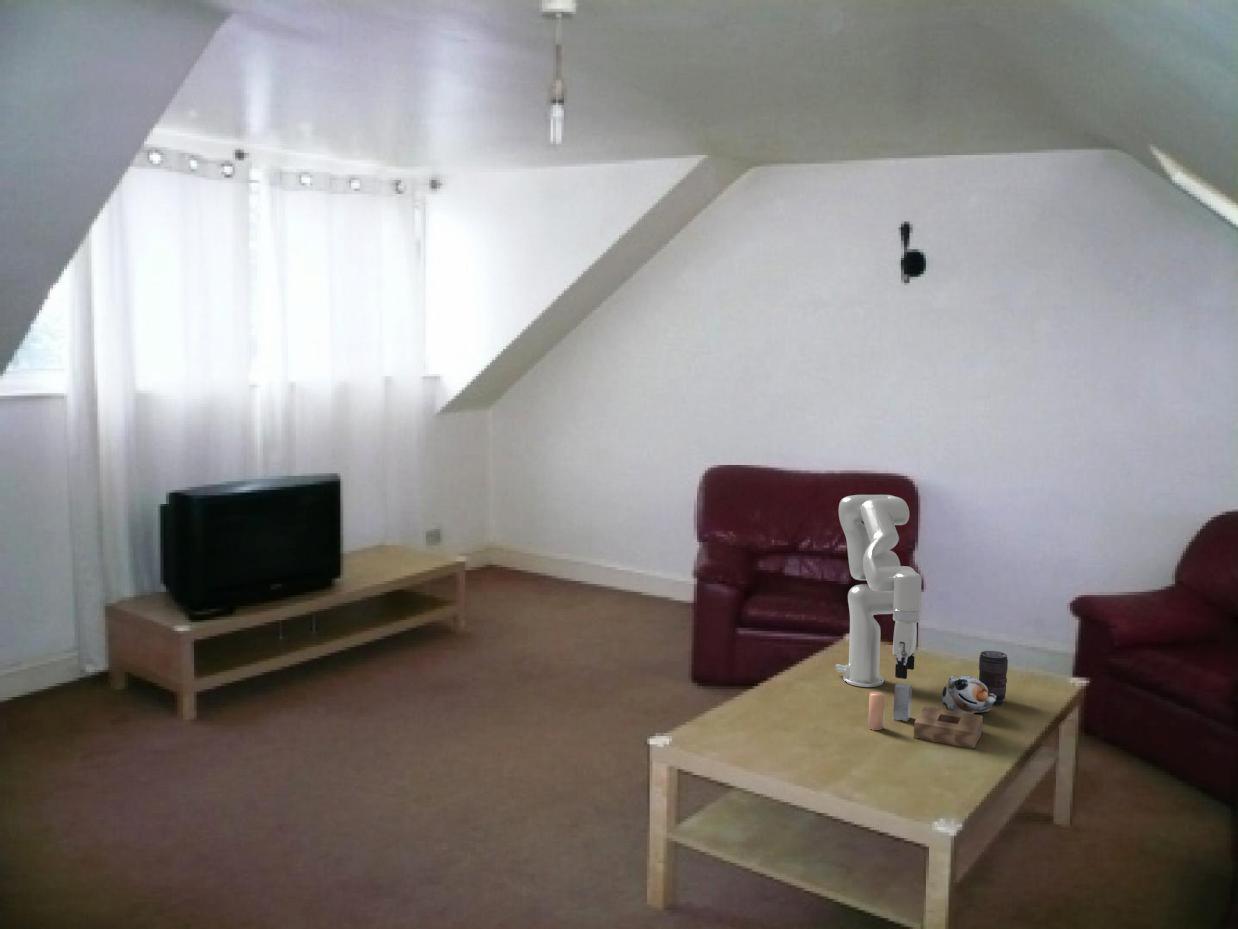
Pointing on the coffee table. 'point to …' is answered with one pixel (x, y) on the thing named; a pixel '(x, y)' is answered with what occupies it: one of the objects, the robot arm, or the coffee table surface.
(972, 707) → the lucky cat figurine
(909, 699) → the square bit
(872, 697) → the round bit
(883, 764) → the coffee table surface
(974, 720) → the bore block
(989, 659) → the camera lens
